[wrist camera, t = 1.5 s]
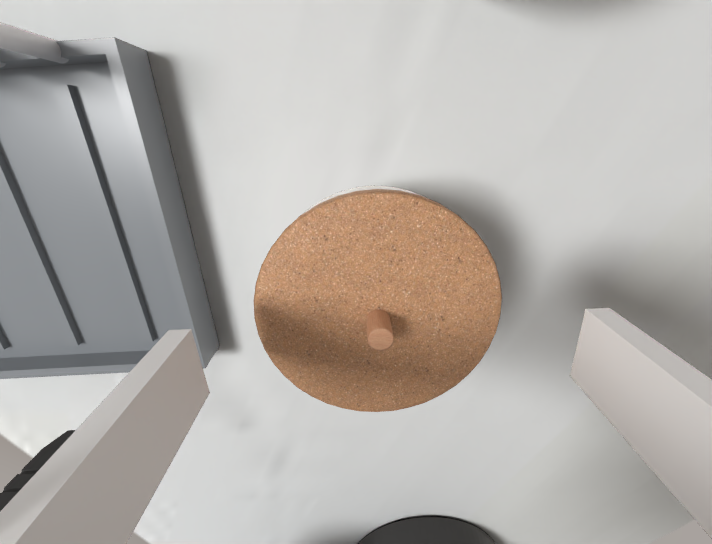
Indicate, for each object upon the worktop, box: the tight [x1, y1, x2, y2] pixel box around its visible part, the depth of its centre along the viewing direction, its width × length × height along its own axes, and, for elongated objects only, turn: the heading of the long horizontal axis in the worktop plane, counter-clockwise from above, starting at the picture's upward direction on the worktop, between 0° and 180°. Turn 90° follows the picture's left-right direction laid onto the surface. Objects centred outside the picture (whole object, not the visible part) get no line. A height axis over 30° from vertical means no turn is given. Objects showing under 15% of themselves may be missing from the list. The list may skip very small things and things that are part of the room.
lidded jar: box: [254, 185, 502, 412], centre depth 17 cm, size 11×11×9 cm
